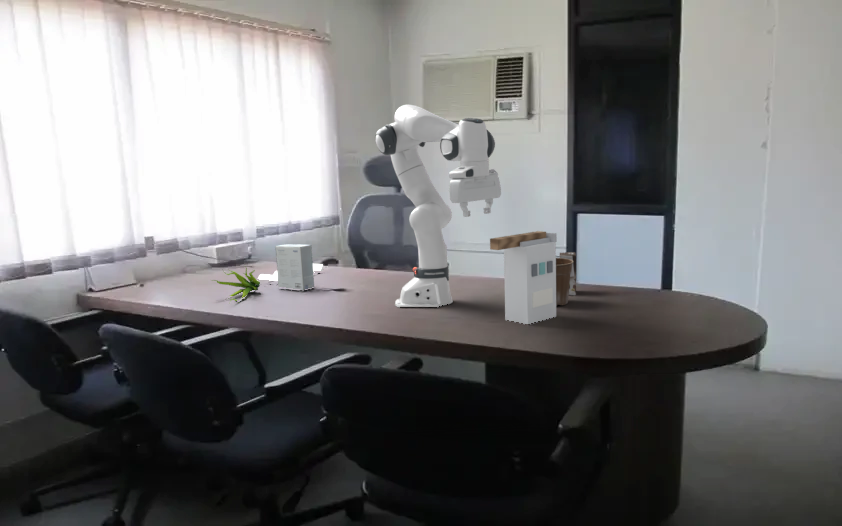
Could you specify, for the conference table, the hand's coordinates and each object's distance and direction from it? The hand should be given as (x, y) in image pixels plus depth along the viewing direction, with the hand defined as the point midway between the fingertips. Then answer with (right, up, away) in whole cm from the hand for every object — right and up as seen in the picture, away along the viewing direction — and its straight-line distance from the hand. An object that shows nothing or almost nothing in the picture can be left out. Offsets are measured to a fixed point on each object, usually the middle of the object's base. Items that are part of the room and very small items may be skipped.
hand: (477, 215), depth 210 cm
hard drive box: (-74, -27, +90) cm, 119 cm away
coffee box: (+41, -27, +58) cm, 77 cm away
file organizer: (-82, -23, +119) cm, 147 cm away
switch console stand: (+20, -34, +19) cm, 44 cm away
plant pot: (+32, -31, +41) cm, 60 cm away
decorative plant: (-93, -31, +72) cm, 122 cm away
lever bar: (+15, -9, +12) cm, 21 cm away
